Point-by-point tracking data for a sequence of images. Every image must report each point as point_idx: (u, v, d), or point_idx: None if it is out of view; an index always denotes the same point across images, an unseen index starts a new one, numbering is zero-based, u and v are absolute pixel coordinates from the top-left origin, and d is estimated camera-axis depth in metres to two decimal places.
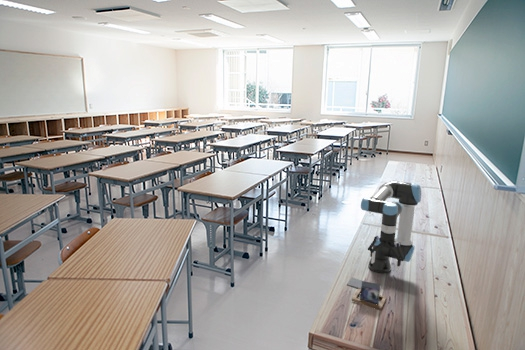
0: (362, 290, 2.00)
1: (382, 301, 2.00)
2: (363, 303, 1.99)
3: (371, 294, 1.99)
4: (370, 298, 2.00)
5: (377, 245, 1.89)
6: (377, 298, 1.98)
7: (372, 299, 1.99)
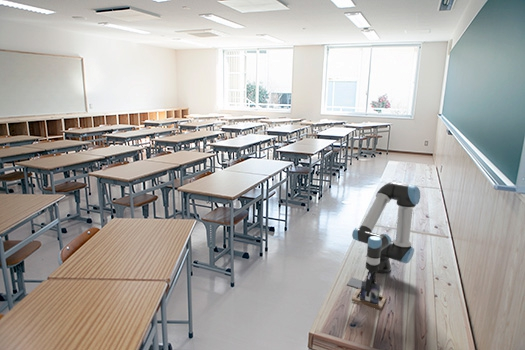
0: (362, 290, 2.00)
1: (382, 301, 2.00)
2: (363, 303, 1.99)
3: (371, 293, 1.99)
4: (370, 298, 2.00)
5: None
6: (377, 298, 1.98)
7: (372, 299, 1.99)
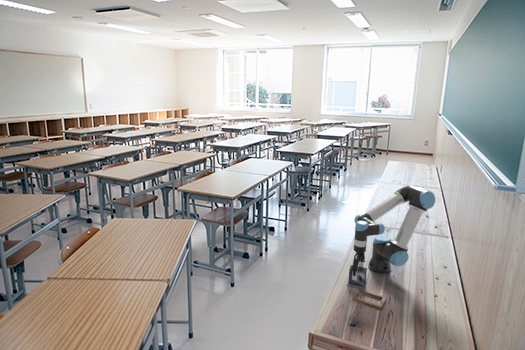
0: (350, 273, 2.18)
1: (382, 301, 2.00)
2: (363, 303, 1.99)
3: (358, 276, 2.16)
4: (357, 280, 2.17)
5: None
6: (363, 280, 2.16)
7: (359, 281, 2.17)
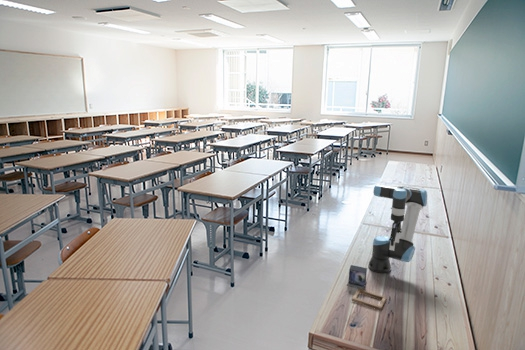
0: (350, 273, 2.18)
1: (382, 301, 2.00)
2: (363, 303, 1.99)
3: (358, 276, 2.16)
4: (357, 280, 2.17)
5: None
6: (363, 280, 2.16)
7: (359, 281, 2.17)
